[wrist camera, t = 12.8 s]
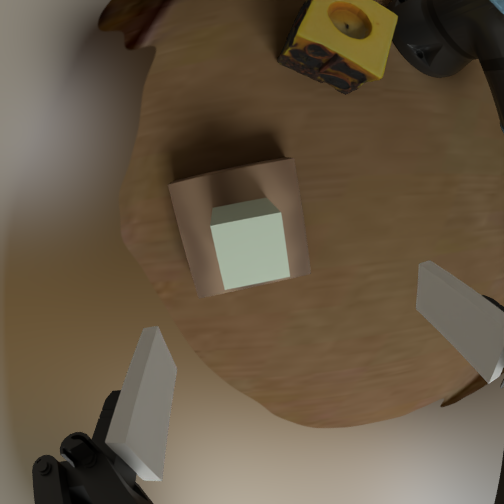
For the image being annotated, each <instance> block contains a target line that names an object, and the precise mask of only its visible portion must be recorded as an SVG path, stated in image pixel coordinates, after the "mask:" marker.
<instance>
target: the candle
mask: <svg viewBox="0 0 504 504" xmlns="http://www.w3.org/2000/svg"><path fill="white" fill-rule="evenodd" d="M397 19H398V16H397V15H396V14H395V13H393V12H392V11H390V10H389V9H387V8H385V7H384V6H382V5H380V4H378V3H377V2H375V1H373V0H307V1H306V2H304V4H303V6H302V7H301V8H300V11H299V13H298V15H297V17H296V19H295V21H294V24H293V26H292V28H291V30H290V33H289V34H288V37H287V41H286V43H285V46H284V47H283V50H282V52H281V54H280V56H279V57H278V58H277V59H278V62H279V64H281V65H283V66H285V67H288V68H290V69H293V70H295V71H297V72H299V73H301V74H303V75H305V76H308V77H310V78H311V79H313V80H316V81H319V82H320V83H323V82H326V83H328V84H329V85H331V86H332V87H334V88H335V89H336V90H337V91H340V92H341V93H343V94H345V95H346V94H348V93H350V92H352V91H354V90H357V89H358V88H359V87H360V86H361V85H362V84H363V83H365V82H368V81H369V82H372V81H375V80H380V79H381V78H382V77H383V74H384V70H385V66H386V62H387V58H388V54H389V49H390V45H391V41H392V38H393V34H394V30H395V26H396V23H397Z"/></svg>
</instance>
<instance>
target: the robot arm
mask: <svg viewBox="0 0 504 504" xmlns="http://www.w3.org/2000/svg"><path fill="white" fill-rule="evenodd" d="M387 9H389V10H390V11H392V12H393V13H395V14H396V15H397V16H398V19H397V23H396V26H395V30H394V34H393V38H392V40H393V42H394V44H395V45H396V47H397V48H398V50H399V51H400V53H401V54H402V55H403V56H404V57H405V59H406V60H407V61H408V62H409V63H410V64H412V65H413V66H414V67H415V68H416V69H418V70H419V71H421V72H423V73H424V74H426V75H429V76H432V77H437V78H441V77H446V76H451V75H454V74H456V73H457V72H459V71H460V70H461V69H462V68H463V67H465V66H466V65H467V64H468V63H470V62H471V61H472V60H473V59H479V61H480V63H481V66H482V68H483V71H484V74H485V76H486V79H487V81H488V84H489V87H490V90H491V93H492V95H493V98H494V102H495V105H496V108H497V112H498V115H499V119H500V126H501V129H502V131H503V133H504V0H392V1H391V2H390V3H389V5H388V6H387ZM416 309H417V310H418V311H419V312H420V313H421V314H422V315H423V316H424V317H425V318H426V319H427V320H428V321H429V322H430V323H431V324H432V325H433V326H434V327H435V328H436V329H437V330H438V331H439V332H440V333H441V334H442V335H443V336H444V337H445V338H446V339H447V340H448V341H449V342H450V343H451V344H452V345H453V346H454V347H455V348H456V349H457V350H458V351H459V352H460V353H461V354H462V356H463V357H464V358H465V359H466V360H467V361H468V362H469V363H470V364H471V365H472V366H473V367H474V368H475V369H476V370H477V372H478V373H479V374H480V375H481V376H482V377H483V378H484V379H485V380H486V382H487V383H488V384H489V383H490V382H492V381H493V380H495V379H496V378H498V377H499V376H500V374H501V372H502V369H503V367H504V307H503V306H502V305H499V303H498V302H497V301H495V300H494V299H492V298H490V297H487V296H485V295H480V294H479V293H477V292H476V291H475V290H473V289H472V288H470V287H469V286H468V285H466V284H465V283H463V282H462V281H460V280H459V279H457V278H456V277H455V276H453V275H452V274H450V273H449V272H447V271H446V270H444V269H443V268H441V267H440V266H438V265H437V264H435V263H434V262H432V261H430V260H429V261H426V262H423V263H420V264H419V275H418V290H417V302H416ZM176 373H177V367H176V365H175V363H174V361H173V359H172V356H171V354H170V352H169V350H168V348H167V345H166V343H165V341H164V339H163V336H162V334H161V332H160V330H159V327H158V326H155V327H149V328H144V329H143V331H142V334H141V337H140V339H139V342H138V345H137V347H136V350H135V353H134V355H133V358H132V361H131V363H130V366H129V369H128V372H127V375H126V378H125V381H124V384H123V387H122V389H121V390H118V391H112V393H111V394H110V395H109V396H108V397H107V398H106V400H105V403H104V405H103V408H102V411H101V414H100V419H98V422H97V425H96V428H95V431H94V434H93V437H92V440H91V439H90V437H89V436H88V435H87V434H84V433H82V432H75V433H73V434H70V435H69V436H67V437H66V438H65V439H64V440H63V442H62V443H61V447H60V454H61V455H62V456H63V457H64V458H65V459H66V460H67V461H63V462H58V461H57V460H56V459H55V458H54V457H53V456H50V455H43V456H41V457H39V458H38V459H37V460H36V461H35V463H34V465H33V470H32V473H33V488H34V499H35V504H153V503H152V501H151V500H150V499H149V498H148V496H147V495H146V494H145V492H144V491H143V490H142V489H141V487H140V486H139V485H138V484H137V483H136V482H135V480H136V474H137V475H138V476H139V477H140V478H142V479H143V480H145V481H162V478H163V468H164V459H165V450H166V442H167V435H168V427H169V419H170V413H171V406H172V399H173V392H174V385H175V379H176ZM503 385H504V379H503V381H502V383H501V386H500V388H502V387H503ZM494 504H504V452H503V460H502V467H501V473H500V479H499V484H498V490H497V495H496V499H495V503H494Z"/></svg>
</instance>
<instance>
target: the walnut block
mask: <svg viewBox="0 0 504 504" xmlns="http://www.w3.org/2000/svg"><path fill="white" fill-rule="evenodd" d="M168 188H169V192H170V196H171V200H172V204H173V208H174V212H175V216H176V220H177V224H178V227H179V231H180V235H181V239H182V242H183V246H184V250H185V253H186V257H187V260H188V264H189V267H190V271H191V274H192V277H193V281H194V284H195V288H196V291H197V294H198V297H199V298H204V297H209V296H213V295H218V294H223V293H228V292H232V291H237V290H242V289H246V288H251V287H255V286H260V285H264V284H269V283H273V282H278V281H282V280H286V279H291V278H295V277H299V276H303V275H308V274H311V269H310V261H309V253H308V246H307V238H306V231H305V224H304V217H303V210H302V203H301V197H300V190H299V184H298V178H297V172H296V166H295V161H294V158H286V157H285V158H279V159H273V160H268V161H262V162H257V163H251V164H246V165H241V166H236V167H232V168H227V169H222V170H218V171H213V172H209V173H204V174H200V175H196V176H192V177H187V178H183V179H179V180H175V181H173V182H171V183H170V184H168ZM261 198H268V199H269V200H270V201H271V202H272V204H273V205H274V206H275V207H276V208H277V209H278V210H279V211H280V212H281V215H282V221H283V228H284V235H285V242H286V249H287V257H288V264H289V272H290V277H286V278H282V279H277V280H272V281H267V282H262V283H257V284H252V285H247V286H242V287H237V288H232V289H227V290H225V289H224V284H223V280H222V276H221V272H220V267H219V263H218V259H217V254H216V250H215V245H214V241H213V236H212V232H211V227H210V224H211V216H212V209H213V208H215V207H220V206H225V205H230V204H235V203H240V202H245V201H251V200H256V199H261Z"/></svg>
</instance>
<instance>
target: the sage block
mask: <svg viewBox="0 0 504 504" xmlns="http://www.w3.org/2000/svg"><path fill="white" fill-rule="evenodd" d="M210 227H211V232H212V236H213V241H214V245H215V250H216V254H217V259H218V263H219V267H220V272H221V276H222V280H223V284H224V289H225V290H227V289H232V288H237V287H242V286H247V285H252V284H257V283H262V282H267V281H272V280H277V279H282V278H286V277H290V272H289V264H288V257H287V249H286V242H285V235H284V228H283V221H282V215H281V212H280V211H279V210H278V209H277V208H276V207H275V206H274V205H273V204H272V202H271V201H270V200H269V199H268V198H261V199H256V200H251V201H245V202H240V203H235V204H230V205H225V206H220V207H215V208H213V209H212V216H211V224H210Z"/></svg>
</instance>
